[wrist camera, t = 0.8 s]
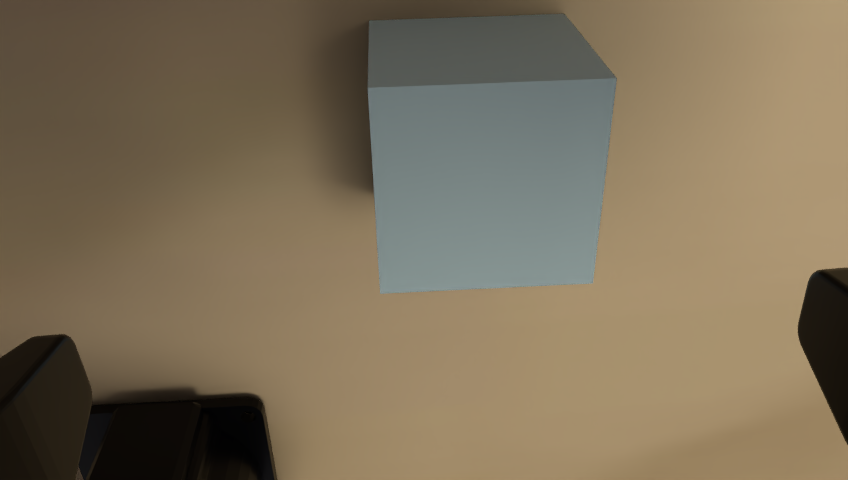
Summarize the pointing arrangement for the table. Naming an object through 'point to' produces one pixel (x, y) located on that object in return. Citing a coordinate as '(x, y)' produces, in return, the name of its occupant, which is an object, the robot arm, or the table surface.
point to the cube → (486, 151)
